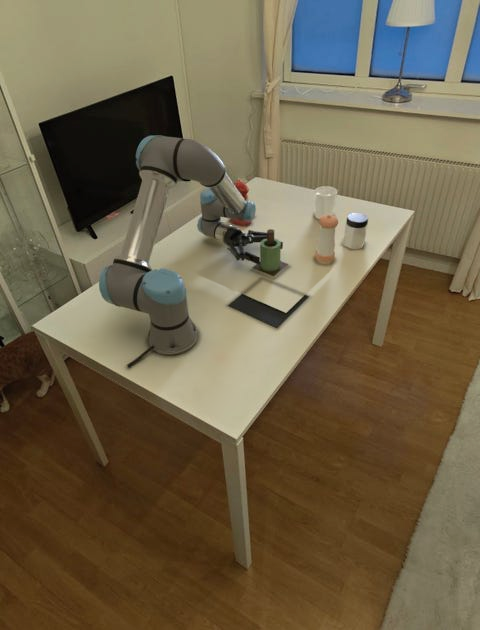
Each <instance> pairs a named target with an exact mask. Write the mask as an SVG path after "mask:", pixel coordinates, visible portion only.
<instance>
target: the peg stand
mask: <svg viewBox="0 0 480 630" xmlns="http://www.w3.org/2000/svg"><path fill="white" fill-rule="evenodd" d="M266 233H267V246H268V247H273V246H274V238H275V230H274V229H273V228H272V229H271V228H269V229H267V230H266ZM288 265H289V263H286V262H283V261H282V260H280V268H279V269H278V270H276V271H272V272H271V271H265V270H263V269H262V268H261V267H260V264H256V263H255V265H254V266H252V269H253V270H256V271H258V272H261V273H262V274H263V273H264V274H266V275H269V276H270V277H275V276H277V275H278V274H279V273H280V272H281V271H283V270H284V269H285V268H286V267H287V266H288Z"/></svg>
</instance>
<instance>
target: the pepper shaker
mask: <svg viewBox="0 0 480 630" xmlns="http://www.w3.org/2000/svg"><path fill="white" fill-rule="evenodd" d="M318 224H319V226H320V228H319V236H318V239H317V243H316V244H317V245H316V250H315V256H314V257H315V260H316V261H318V262H320V263H331V262H333V261H334V260H335V255H336V252H335V249H336V248H335V247H336V237H335V236H336V229H337V228H336V227H338V224H339V219H338V218H337V217H336V216H335V215H334V214H333V215H324V216H322V217H321V218H320V219H318Z"/></svg>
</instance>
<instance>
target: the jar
mask: <svg viewBox="0 0 480 630" xmlns="http://www.w3.org/2000/svg"><path fill="white" fill-rule="evenodd" d="M368 223H369V217H368V215H366V214H364V213H361V212H352V213H349V214H348V215H347V216H346V221H345V226H344V231H343V233H344V234H343V239H342V240H343V241H342V245H343V246H344V247H346V248H347V249H349V250H358V249H360V250H361V249H362V248H363V247H364V244H365V241H366V236H367V230H368Z"/></svg>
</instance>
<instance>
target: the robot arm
mask: <svg viewBox="0 0 480 630" xmlns="http://www.w3.org/2000/svg"><path fill="white" fill-rule="evenodd" d="M135 159H136V160H135V165H136V168H137V169H138V171H139V172H138V174H139V177H140V179H141V183H140V188H139V191H138V194H137V197H136V202H135V205H134V208H133V212H132V215H131V219H130V221H129V226H128V229H127V232H126V236H125V239H124V243H123V246H122V250H121V253H120V254H119V255H117V256H116V257H114V259H113V261H112V264H108V265H106V266H105V267H104V269H102V271H100V275H99V280H98V288H99V293H100V295H101V298H102V299H103V300H104V301H105V302H106V303H108V304H111V305H113V306H115V307H119V308H124V309H127V310H128V309H129V310H131V311H136V312H139V313H144V314H148V316H149V320H150V325H149V331H148V337H147V338H148V344H149V346H150V347H148V348H147V349H145V350H144V351H143V352H142V353H141V354H140V355H139V356H138V357H136V358H135V359H133V360H132V361H131V362H129V363H127V364H126V366H127V368H130V367H132V366H133V365H135V364H136V363H138V362H139V361H140V360H142V358H144V357H145V356H146V355H148V354H149V353H150V352H151V351H152V350H153V351H154V352H155V353H157V354H160V355H163V356H176V355H180V354H181V355H182V354H183V353H186V352H188V351H189V350H190V349H192V348H194V346H195V345H196V343H197V341H198V330H197V325H196V323H194V321H193V320H192V319H191V317H190V314H189V306H188V300H187V290H186V289H187V288H186V287H185V282H184V280H183V277H182V276H181V275H180V274H179V273H177V272H176V271H174V270H172V269H170V268H159V269H156V268H155V269H153V268H152V266H151V265H150V260H151V256H152V254H153V249H154V246H155V242H156V240H157V236H158V232H159V228H160V225H161V221H162V218H163V215H164V211H165V207H166V204H167V201H168V198H169V193H170V191H171V190H172V189H175V188H176V186H177V183H178V180H179V179H180V180H189V181H192V182H193V181H194V182H197V183H199V184H200V185H201V186H202V187H205V188H207V189H204V190H202V191H201V192H200V195H199V198H200V201H199V205H200V210H201V216H200V217H199V218H198V220H197V223H196V227H197V228H196V229H197V231H198V232H199V233H201V234H202V235H204V236H206V237H209V238H211V239H214V240H216V241H218V242H221V243H223V244H225V245H226V249H227V251H229V252H230V253H231V255H233V257H234V258H235V260H236V261H245V260H246V261H247V262H252V263H253V264H255V265H256V264H260V256H258V255H256V254H253V253H251V252H249V251H245V250H244V247H246V246H248V245H251V244H253V243H261V241H262V240H263V239H267V232H266V231H255V230H252V229H249V230H248V231H247V233H245V232H243V231H242V230H241V229H240V228H239V227H235V226H233V225H231V224H229V223H225V222H224V221H222V220H221V218H225V219H230V218H231V219H236V220H242V221H251V222H252V221H253V220H254V218H255V216H256V209H257V207H256V203H255V202H254V201H250V200H249V201H245V200H244V198H243V197H242V195H241V194H240V192H239V191H238V190H237V188H236V187H235V185H234V183H233V181H232V179H231V178H230V176H229V175H228V174H227V173H226V172H227V170H226V169H227V168H226V166H225V164H224V162H223V161H222V160H221V158H220V157H219V156H218V155H217V153H215V152H214V151H213V150H212V149H211V148H209V147H208V146H207V145H205V144H204V143H202V142H200V141H198V140H195V139H191V138H182V137H175V136H164V135H162V134H161V135H160V134H159V135H158V134H157V135H148V136H146V137H144V138H143V139H142V140H141V141H140V143H139V144H138V146H137V149H136V152H135ZM279 241H280V242H281V250H282V249H283V247H284V245H283V244H284V242H283V241H281V240H279Z"/></svg>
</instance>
